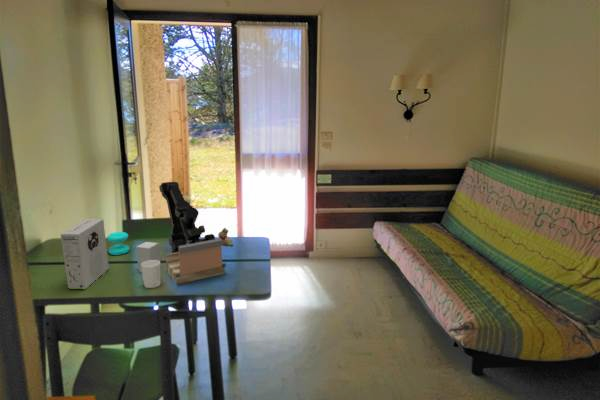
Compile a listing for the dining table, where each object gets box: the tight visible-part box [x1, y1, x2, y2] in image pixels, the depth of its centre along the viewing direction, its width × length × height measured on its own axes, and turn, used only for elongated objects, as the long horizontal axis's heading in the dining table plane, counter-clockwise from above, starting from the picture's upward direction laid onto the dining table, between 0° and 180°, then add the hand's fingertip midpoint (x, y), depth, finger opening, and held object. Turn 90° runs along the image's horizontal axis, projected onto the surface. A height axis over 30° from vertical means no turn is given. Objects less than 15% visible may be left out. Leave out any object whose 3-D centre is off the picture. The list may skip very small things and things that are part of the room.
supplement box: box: [135, 241, 162, 273], centre depth 200 cm, size 7×7×13 cm
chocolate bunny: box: [217, 227, 234, 247], centre depth 234 cm, size 6×8×10 cm
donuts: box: [106, 231, 131, 256], centre depth 222 cm, size 10×10×10 cm
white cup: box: [141, 260, 162, 289], centre depth 185 cm, size 8×8×10 cm
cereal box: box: [60, 218, 110, 289], centre depth 189 cm, size 22×8×25 cm, turn 178°
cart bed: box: [165, 252, 227, 285], centre depth 197 cm, size 18×23×8 cm
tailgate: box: [178, 237, 223, 275], centre depth 188 cm, size 3×19×13 cm, turn 122°
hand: (199, 259), depth 192 cm, fingers closed
